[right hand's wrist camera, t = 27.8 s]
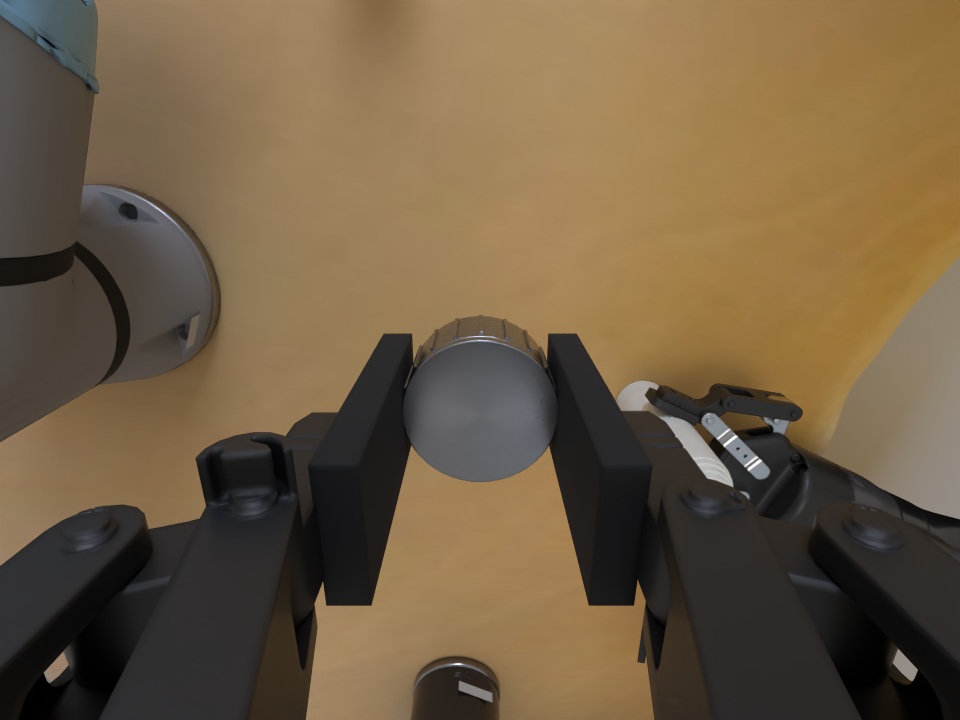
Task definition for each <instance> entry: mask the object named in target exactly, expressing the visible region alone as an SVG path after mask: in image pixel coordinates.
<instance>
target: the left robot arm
mask: <svg viewBox="0 0 960 720" xmlns="http://www.w3.org/2000/svg"><path fill="white" fill-rule="evenodd" d="M645 397H646V398H647V399H648V401H649V402H650V403H651V404H652V405H653V406H655V407H656V408H658V409H660V410H663V411H665V412H667V413H669V414H671V415H673V416H676V417H678V418H680V419H682V420H685V421H686V422H688V423H691V424H693V425H695V424H696V423H699V424H702V425H703V426H704V427H705V428H706V429H707V430H708V431H709V432H710V433H711V434H712V435H713V436H714V438H713V440H712V441H711V443H710V444H709V447H710V448H711V450H712V451H713V452H714V453H715V455H716V456H717V457H718V458H719V460H720V461H721V462H722V463H723V464H724V466H725V467H726V468H727V470H728V471H729V473H730V476H731V478H732V482H733V488H735V489H736V490H738V491H739V492H741V493H742V494H744V495H745V496H746V497H747V498H748V499H749V500H750V502H751V503H752V504H753V505H754V507H755V509H756V511H757V513H758V515H759V516H762V517H766V518H770V519H774V520H779V521H784V522H789V523H794V524H799V525H804V526H810V527H813V523H814V519H815V516H816V512H817V511H818V510H819V509H820V508H821V507H822V506H823V505H826V504H831V503H837V502H842V503H857V504H863V505H867V506H868V507H869V506H872V507H875V508H878V509H881V510H883V511H884V512H886V513H888V514H891V515H893V516H896V517H898V518H900V519H902V520H903V521H905V522H906V523H908V524H910V525H911V526H913V527H914V528H916V529H918V530H919V531H920V532H921V533H923V534H924V535H925V536H927V537H928V538H929V539H931V540H932V541H933V542H934V543H936V544H937V545H938V546H940V547H941V548H942V549H943V550H945V551H946V552H947V553H949V554H950V555H951V556H952V557H954V558H955V559H956V560H958V561H959V562H960V519H956V518H952V517H948V516H944V515H941V514H937V513H933V512H930V511H927V510H924V509H921V508H919V507H917V506H915V505H914V504H912V503H910V502H908V501H906V500H904V499H902V498H900V497H898V496H895V495H893V494H891V493H889V492H887V491H885V490H882V489H881V488H879V487H877V486H876V485H874V484H873V483H871V482H870V481H868V480H867V479H865V478H863V477H862V476H860V475H858V474H856V473H854V472H852V471H850V470H848V469H846V468H843V467H841V466H839V465H837V464H835V463H833V462H831V461H829V460H827V459H824V458H822V457H820V456H818V455H816V454H814V453H812V452H810V451H807V450H805V449H803V448H801V447H799V446H797V445H795V444H793V443H791V442H790V441H789V440H788V438H787V437H786V436H785V432H786V430H787V428H788V425H789V423H790V421H797V420H798V419H800V418H801V416H802V413H803V412H802V409H801V408H800V407H798V406H797V405H796V404H795V403H793V402H792V401H791V400H789V399H788V398H786V397H785V396H784V395H782V394H781V393H775V392H769V391H762V390H756V389H750V388H744V387H738V386H731V385H725V384H714V385H713V386H711V388H710V390H709V394H708V395H706V396H705V397H704V398H701V399H693V398H691V397H689V396H687V395H685V394H683V393H680V392H678V391H676V390H674V389H672V388H670V387H668V386H659V387H658V389H657V390H656V389H654V388H651V387H649V389H648V391H647V392H646V394H645ZM727 411H728V412H735V413H741V414H747V415H754V416H759V417H760V418H761V419H762V420H763V421H764V422H765V423H767V424H768V425H767V426H765V427H758V428H752V429H745V430H739V431H733V430H732V429H731V428H730V427H729V426H728V425H727V424H726V423H725V422H724V421H723V420H722V419H721V418H720V416H722V415H723V414H724V413H726V412H727ZM499 700H500V691H499V683H498V680H497V678H496V676H495V675H494V673H493V672H492V671H491V670H490V669H489V668H487V667H486V666H484V665H483V664H481V663H479V662H476V661H473V660H470V659H465V658H447V659H442V660H438V661H436V662H433V663H431V664H429V665H428V666H426V667H425V668H424V669H423V670H422V671H421V672H420V673H419V674H418V676H417V678H416V680H415V684H414V692H413V706H412V714H411V720H499Z"/></svg>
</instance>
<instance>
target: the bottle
mask: <svg viewBox="0 0 960 720" xmlns="http://www.w3.org/2000/svg"><path fill="white" fill-rule="evenodd" d="M649 387H651V388H654V389H656V390H657V389H658V387H659V386H658V385H657V384H655V383H653V382H650V381H637V382H634V383H631V384H629V385H628V386H626V387H625V388H624V389H623V390H622V391H621V392H620V393H619V395H618V397H617V400H616V403H617V404H618V406H619V408H620V410H621V411H649V412H651V413H653V414H654V415H656V416H657V417H659V418H661V419H662V420H664V421H665V422H666V423H667V424H668V425H669V427H670V428H671V429H672V431H673V432H674V434H675V437H677V438H678V439H679V440H680V442H681V443H682V445H683V448H685V449H686V450H687V451H688V453H689V454H690V455H691V457H692V458H693V460H694V461H695V462H696V464H697V465H698V466H699V468H700V469H701V471H702V472H703V473H704V475H705V476H706V477H707V479H712V480H716V481H719V482H721V483H724V484H727V485H729V486H732V487H733V482H732V478H731V476H730V473H729V471H728V470H727V468H726V467H725V466H724V464H723V463H722V462H721V461H720V460H719V458H718V457H717V456H716V455H715V453H714V452H713V451H712V450H711V448H710V447H709V446H708V445H707V444H706V442H705V441H704V440H703V439H702V437H701V436H700V435H699V434H698V433H697V431H696V430H695V429H694V428H693V426H692V425H691V424H690V423H688V422H686V421H685V420H682V419H680V418H678V417H676V416H673V415H671V414H669V413H667V412H665V411H663V410H660V409H658V408H656V407H655V406H653V405H652V404H651V403H650V402H649V401H648V399H647V398H646V397H645V394H646V392H647V391H648V389H649Z"/></svg>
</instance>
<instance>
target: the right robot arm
mask: <svg viewBox="0 0 960 720" xmlns="http://www.w3.org/2000/svg"><path fill="white" fill-rule="evenodd" d="M97 29H98V14H97V9H96V5H95V2H94V0H0V442H1V441H3V440H5V439H6V438H8V437H10V436H11V435H13V434H15V433H17V432H18V431H20V430H22V429H23V428H25V427H27V426H29V425H30V424H32V423H34V422H35V421H37V420H39V419H41V418H42V417H44V416H46V415H47V414H49V413H51V412H53V411H54V410H56V409H58V408H59V407H61V406H63V405H64V404H66V403H68V402H70V401H71V400H73V399H75V398H76V397H78V396H80V395H82V394H83V393H85V392H87V391H88V390H90V389H92V388H93V387H95V386H97V385H99V384H107V383H116V382H124V381H132V380H140V379H146V378H151V377H154V376H158V375H160V374H163V373H166V372H168V371H171V370H173V369H175V368H177V367H178V366H180V365H182V364H183V363H185V362H186V361H188V360H189V359H191V358H192V357H193V356H195V355H196V354H197V353H198V352H199V351H200V350H201V349H202V348H203V347H204V346H205V344H206V343H207V342H208V340H209V338H210V337H211V335H212V333H213V331H214V328H215V326H216V323H217V319H218V314H219V306H220V294H219V285H218V280H217V276H216V273H215V269H214V266H213V264H212V261H211V259H210V257H209V255H208V253H207V251H206V249H205V248H204V246H203V244H202V243H201V241H200V240H199V238H198V237H197V236H196V234H195V233H194V232H193V230H192V229H191V228H190V227H189V226H188V225H187V224H186V223H185V222H184V221H183V220H182V219H181V218H180V217H179V216H178V215H177V214H176V213H174V212H173V211H172V210H171V209H169V208H168V207H166V206H165V205H164V204H162V203H161V202H159V201H157V200H155V199H154V198H152V197H150V196H148V195H146V194H144V193H141V192H138V191H136V190H133V189H129V188H126V187H122V186H116V185H109V184H86V185H83V182H84V174H85V166H86V158H87V150H88V142H89V134H90V126H91V118H92V110H93V102H94V94H99V84H98V81H97V79H96V78H95V64H96V46H97ZM547 363H548V366H549V370H550V373H551V376H552V379H553V382H554V385H555V388H556V393H557V396H558V411H557V427H556V432H555V434H554V437H553V439H552V441H551V443H550V444H549V446H550V450H551V454H552V459H553V463H554V467H555V471H556V475H557V479H558V483H559V487H560V491H561V495H562V499H563V503H564V507H565V511H566V515H567V519H568V523H569V527H570V531H571V535H572V539H573V543H574V547H575V551H576V555H577V559H578V563H579V567H580V571H581V576H582V580H583V584H584V588H585V592H586V596H587V600H588V604H589V606H634V601H635V594H636V586H637V579H638V581H639V584H640V587H641V589H642V592H643V594H644V597H645V600H646V605H645V612H644V619H643V626H642V633H641V640H640V647H639V654H638V662H640V663H645V658H646V657H647V665H648V673H649V681H650V688H651V696H652V704H653V712H654V720H960V562H959V561H958V560H956V559H955V558H954V557H952V556H951V555H950V554H949V553H947V552H946V551H945V550H943V549H942V548H941V547H940V546H938V545H937V544H936V543H934V542H933V541H932V540H931V539H929V538H928V537H927V536H925V535H924V534H923V533H921V532H920V531H919V530H918V529H916V528H914V527H913V526H911V525H910V524H908V523H906V522H905V521H903V520H902V519H900V518H898V517H896V516H893V515H891V514H888V513H886V512H884V511H883V510H881V509H878V508H875V507H872V506H869V507H868V506H867V505H863V504H857V503H842V502H837V503H831V504H826V505H823V506H822V507H821V508H820V509H819V510H818V511H817V512H816V516H815V519H814V523H813V527H810V526H804V525H799V524H794V523H789V522H784V521H779V520H774V519H770V518H766V517H762V516H759V515H758V513H757V511H756V509H755V507H754V505H753V504H752V503H751V502H750V500H749V499H748V498H747V497H746V496H745V495H744V494H742V493H741V492H739V491H738V490H736V489H735V488H733V487H732V486H729V485H727V484H724V483H721V482H719V481H716V480H712V479H707V477H706V476H705V475H704V473H703V472H702V471H701V469H700V468H699V466H698V465H697V464H696V462H695V461H694V460H693V458H692V457H691V455H690V454H689V453H688V451H687V450H686V449H685V448H683V445H682V443H681V442H680V440H679V439H678V438H677V437H675V434H674V432H673V431H672V429H671V428H670V427H669V425H668V424H667V423H666V422H665V421H664V420H662V419H661V418H659V417H657V416H656V415H654V414H653V413H651V412H649V411H621V410H620V408H619V406H618V404H617V403H616V401H615V399H614V397H613V396H612V394H611V392H610V391H609V389H608V387H607V385H606V384H605V382H604V380H603V378H602V377H601V375H600V373H599V372H598V370H597V368H596V366H595V365H594V363H593V361H592V359H591V358H590V356H589V354H588V353H587V351H586V349H585V347H584V346H583V344H582V342H581V340H580V339H579V337H578V335H577V334H548V352H547ZM412 366H413V345H412V334H383V336H382V338H381V339H380V341H379V343H378V345H377V346H376V348H375V350H374V351H373V353H372V355H371V357H370V358H369V360H368V362H367V364H366V365H365V367H364V369H363V370H362V372H361V374H360V376H359V377H358V379H357V381H356V383H355V384H354V386H353V388H352V389H351V391H350V393H349V395H348V396H347V398H346V400H345V402H344V403H343V405H342V407H341V408H340V410H339V412H338V413H311V414H309V415H308V416H306V417H304V418H303V419H301V420H300V421H298V422H296V423H295V424H294V425H293V427H292V428H291V429H290V431H289V432H288V434H287V435H286V436H283V435H279V434H275V433H271V432H253V433H247V434H241V435H236V436H233V437H230V438H227V439H224V440H221V441H218V442H216V443H215V444H213V445H211V446H209V447H207V448H205V449H204V450H203V451H202V452H201V453H200V454H199V455H198V456H197V457H196V462H197V467H198V471H199V476H200V480H201V485H202V490H203V494H204V499H205V503H206V508H205V510H204V512H203V514H202V516H201V518H200V519H196V520H192V521H188V522H184V523H178V524H173V525H168V526H163V527H158V528H153V529H148V525H147V521H146V518H145V514H144V513H143V512H142V511H141V510H140V509H138V508H137V507H133V506H128V505H112V506H101V507H95V508H94V509H92V508H91V509H88V510H85V511H82V512H79V513H78V514H76V515H74V516H72V517H69V518H67V519H65V520H62V521H61V522H59V523H57V524H56V525H54V526H53V527H51V528H49V529H48V530H46V531H45V532H43V533H42V534H41V535H39V536H38V537H37V538H36V539H34V540H33V541H32V542H30V543H29V544H28V545H27V546H25V547H24V548H23V549H22V550H20V551H19V552H18V553H16V554H15V555H14V556H13V557H11V558H10V559H9V560H7V561H6V562H5V563H4V564H2V565H1V566H0V720H306V713H307V705H308V697H309V690H310V682H311V674H312V666H313V658H314V651H315V643H316V635H317V619H316V612H315V605H314V603H315V601H316V598H317V596H318V593H319V590H320V588H321V585H322V582H323V584H324V591H325V599H326V606H371V605H372V601H373V597H374V593H375V589H376V585H377V581H378V577H379V573H380V569H381V565H382V561H383V557H384V553H385V549H386V545H387V541H388V537H389V533H390V529H391V524H392V520H393V516H394V512H395V508H396V504H397V500H398V496H399V492H400V488H401V484H402V480H403V476H404V472H405V468H406V464H407V460H408V456H409V452H410V448H411V443H410V442H409V439H408V437H407V435H406V432H405V429H404V421H403V396H404V392H405V388H404V387H405V384H406V381H407V379H408V376H409V373H410V370H411V367H412ZM898 649H899V650H900V651H901V652H902V653H903V654H904V655H905V656H906V657H907V658H908V659H909V661H910V662H911V663H912V664H913V665H914V666H915V667H916V668H917V669H918V672H917V674H916V676H915V679H914V680H913V681H910V680H909V679H907V678H906V677H905V676H904V675H903V674H902V673H901V672H900V671H899V670H898V669H897V668H896V666H895V665H894V664H893V660H894V658H895V655H896V652H897V650H898ZM63 651H64V654H65V656H66V659H67V662H68V664H69V666H68V667H67V668H66V669H65V670H64V671H63V672H62V673H61V675H60V676H58V677H57V678H56V679H55V680H53V681H52V682H51V683H48V682H47V680H46V678H45V675H44V672H45V671H46V669H47V668H48V667H49V666H50V665H51V664H52V663H53V662H54V661H55V660H56V659H57V658H58V656H59V655H60V654H61V653H62V652H63Z"/></svg>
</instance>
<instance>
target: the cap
mask: <svg viewBox="0 0 960 720" xmlns="http://www.w3.org/2000/svg"><path fill="white" fill-rule="evenodd" d="M404 388H405V392H404V396H403V421H404V429H405V432H406V435H407V437H408V439H409V442H410V443H411V445H412V446H413V448H414V450H415V451H416V452H417V453H418V454H419V456H420V457H421V458H422V459H423V460H424V461H425V462H427V463H428V464H429V465H430V466H432V467H433V468H435V469H436V470H438V471H440V472H442V473H443V474H446V475H448V476H451V477H453V478H457V479H460V480H466V481H473V482H487V481H495V480H501V479H504V478H507V477H510V476H513V475H515V474H517V473H519V472H521V471H523V470H525V469H526V468H528V467H529V466H530V465H532V464H533V463H534V462H535V461H536V460H537V459H538V458H540V457H541V455H542V454H543V453H544V452H545V450H546V449H547V448H548V446H549V444H550V443H551V441H552V439H553V437H554V434H555V432H556V427H557V411H558V396H557V393H556V388H555V385H554V382H553V379H552V376H551V373H550V370H549V366H548V363H547V360H546V357H545V354H544V351H543V349H542V347H539V346H538V345H537V343H536V342H535V341H534V340H533V339H532V338H531V336H530V335H528V332H527V331H526V330H522V329H521V328H519V327H518V326H516V325H514V324H512V323H510V322H508V321H507V320H506V319H503V320H502V319H498V318H493V317H485V316H483V315H479V316H476V317H467V318H463V319H459V318H457V319H455V321H453V322H451V323H449V324H447V325H445V326H443V327H442V328H440V329H439V330H438V329H436V330H434V334H432V335H431V336H430V337H429V338H428V339H427V341H426V342H425V343H424V344H423V346H421V345H420V347H419V349H418V352H417V355H416V358H415V361H414V363H413V366H412V367H411V370H410V373H409V376H408V379H407V381H406V384H405V387H404Z"/></svg>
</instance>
